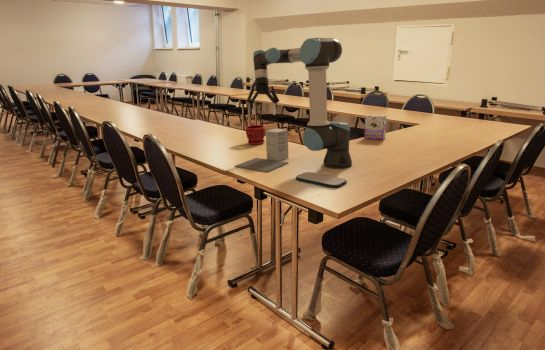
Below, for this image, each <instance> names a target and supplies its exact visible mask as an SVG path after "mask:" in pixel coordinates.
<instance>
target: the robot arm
mask: <svg viewBox="0 0 545 350" xmlns="http://www.w3.org/2000/svg"><path fill="white" fill-rule="evenodd" d="M342 53H343V47H342V44H341V42H340V41H338V39H335V38H332V37H309V38H307V39H305V40H304V41H303V43H302V44H301V45H300V47H297V48H287V49H278V48H277V47H271V48H269V49H267V50H263V49H257V50H255V51H253V56H252V57H253V59H252V60H253V69H254V78H255V79H254V82H255V85H251V86H250V91H249V94H248V96H247V99H246V103H248V104H249V109H250V110H251V115H252V116H254V115H256V107H255V106H256V105H255V104H256V103H255V102H254V101H255V100H256V99H257V97H258V95H265V96H267V97H268V99H269V100H270V102H272V104H271V105H272V106H271V107H272V115H273V116H275V115H277V108H278V105H277V103H279V102H280V99H279V97H278V95H277V93H276V91H275V88H274V86H269V79H268V77H269V75H268V66H269V65H271V64H294V63H302V64H304V66H305V67H304V69H305V70H307V73H308V97H309V98H308V99H309V100H308V101H309V121H308V122H307V124H306V125H307V126H306V129H305V130H304V131H303V132H302V141H303V144H304V146H306V148H307V149H308V151H313V152H316V151H317V152H319V151H323V150H326V152H325V156H324V159H323V161H322V162H323V166H325V167H326V168H330V169H347V168H350V167H351V166H352V165H353V161H352V157H351V153H350V135H351V129H350V124H349V123H347V122H341V121H340V122H339V121H329V120H328V103H327V101H328V99H327V98H328V97H327V94H328V93H327V70H328V69H329V67H330V63H331V64H332V63H334V62H337V61H338V60H339V59H340V58H341V57H342ZM255 91H256V92H255ZM254 92H255V94H254ZM253 94H254V95H253ZM352 167H353V166H352Z"/></svg>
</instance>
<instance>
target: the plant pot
mask: <svg viewBox="0 0 545 350" xmlns="http://www.w3.org/2000/svg"><path fill="white" fill-rule="evenodd" d="M245 135H246V138H247V143H248V144H249V145H253V146H254V145H255V146H259V145H262V144H264V143H265V142H266V139H265V137H266V128H265V125H261V124H252V125H248V126H246V127H245Z"/></svg>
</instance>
